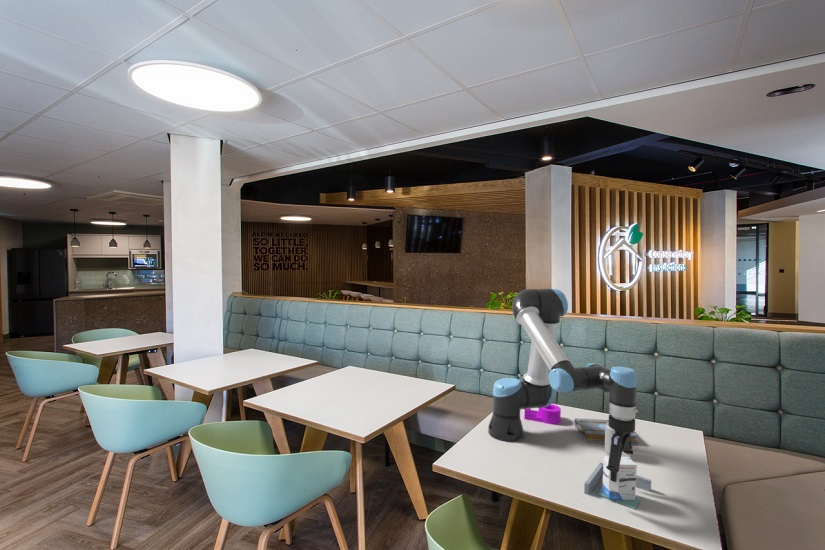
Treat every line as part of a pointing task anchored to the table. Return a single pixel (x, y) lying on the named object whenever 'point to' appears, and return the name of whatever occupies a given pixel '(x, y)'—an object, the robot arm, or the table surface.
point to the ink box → (621, 480)
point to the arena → (598, 472)
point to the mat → (627, 503)
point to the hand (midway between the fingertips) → (619, 481)
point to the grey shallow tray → (596, 430)
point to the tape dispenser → (544, 414)
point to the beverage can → (608, 438)
